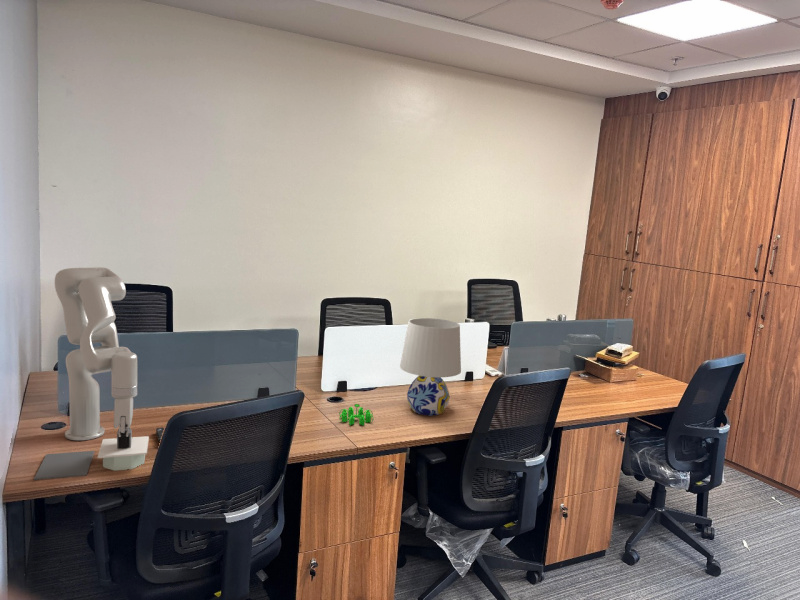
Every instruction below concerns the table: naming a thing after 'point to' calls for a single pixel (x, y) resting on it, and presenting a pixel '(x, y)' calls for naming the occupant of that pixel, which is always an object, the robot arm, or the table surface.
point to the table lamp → (431, 362)
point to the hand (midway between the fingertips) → (124, 444)
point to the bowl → (123, 462)
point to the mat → (65, 465)
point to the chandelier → (360, 415)
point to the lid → (135, 448)
